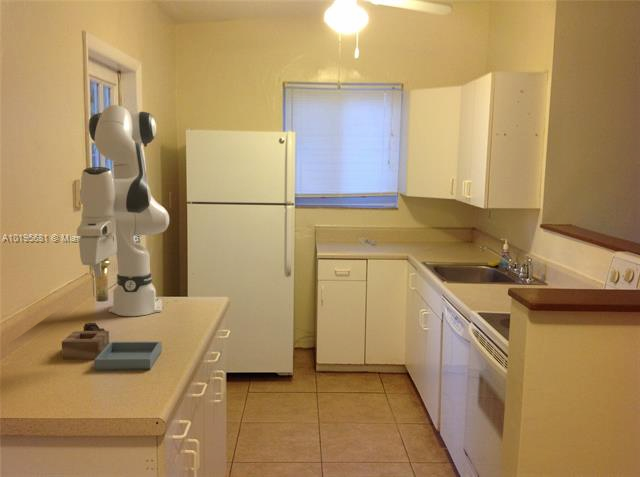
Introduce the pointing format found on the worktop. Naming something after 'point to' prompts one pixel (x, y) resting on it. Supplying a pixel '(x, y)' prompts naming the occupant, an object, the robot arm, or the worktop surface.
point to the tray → (128, 356)
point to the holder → (84, 344)
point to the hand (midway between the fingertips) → (101, 275)
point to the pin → (102, 283)
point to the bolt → (92, 327)
